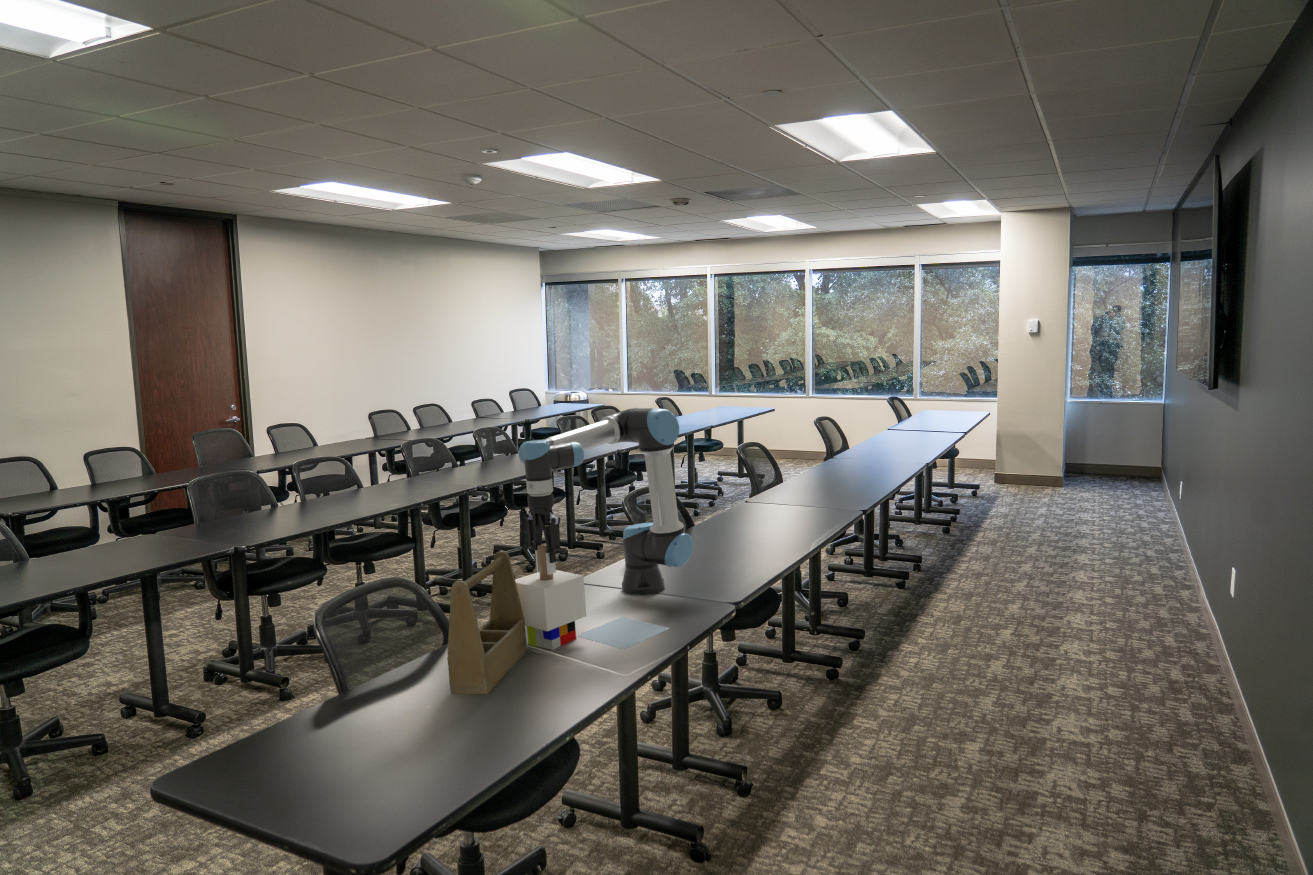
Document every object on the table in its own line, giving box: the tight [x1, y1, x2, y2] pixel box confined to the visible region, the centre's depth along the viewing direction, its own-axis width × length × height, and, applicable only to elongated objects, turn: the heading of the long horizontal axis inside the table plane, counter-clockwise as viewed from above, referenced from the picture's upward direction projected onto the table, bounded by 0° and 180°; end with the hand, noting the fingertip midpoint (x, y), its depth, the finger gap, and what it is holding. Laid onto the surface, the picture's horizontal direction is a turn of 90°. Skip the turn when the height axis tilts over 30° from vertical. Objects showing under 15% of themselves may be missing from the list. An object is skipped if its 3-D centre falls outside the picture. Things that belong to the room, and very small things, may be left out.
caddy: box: [447, 550, 528, 695], centre depth 226 cm, size 29×11×30 cm, turn 168°
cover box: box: [515, 542, 587, 631], centre depth 244 cm, size 15×15×22 cm
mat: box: [576, 616, 671, 650], centre depth 250 cm, size 20×20×1 cm
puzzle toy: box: [526, 620, 577, 651], centre depth 246 cm, size 10×10×10 cm
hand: (546, 571), depth 244 cm, fingers closed on cover box, 4 cm apart
